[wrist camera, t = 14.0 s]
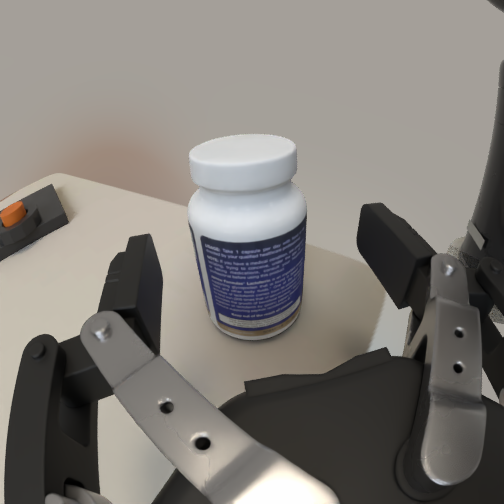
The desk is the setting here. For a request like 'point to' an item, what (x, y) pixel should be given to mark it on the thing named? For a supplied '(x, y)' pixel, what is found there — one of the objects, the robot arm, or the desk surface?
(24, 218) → the scale
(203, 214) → the pill bottle
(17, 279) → the desk surface
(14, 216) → the button
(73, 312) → the desk surface
